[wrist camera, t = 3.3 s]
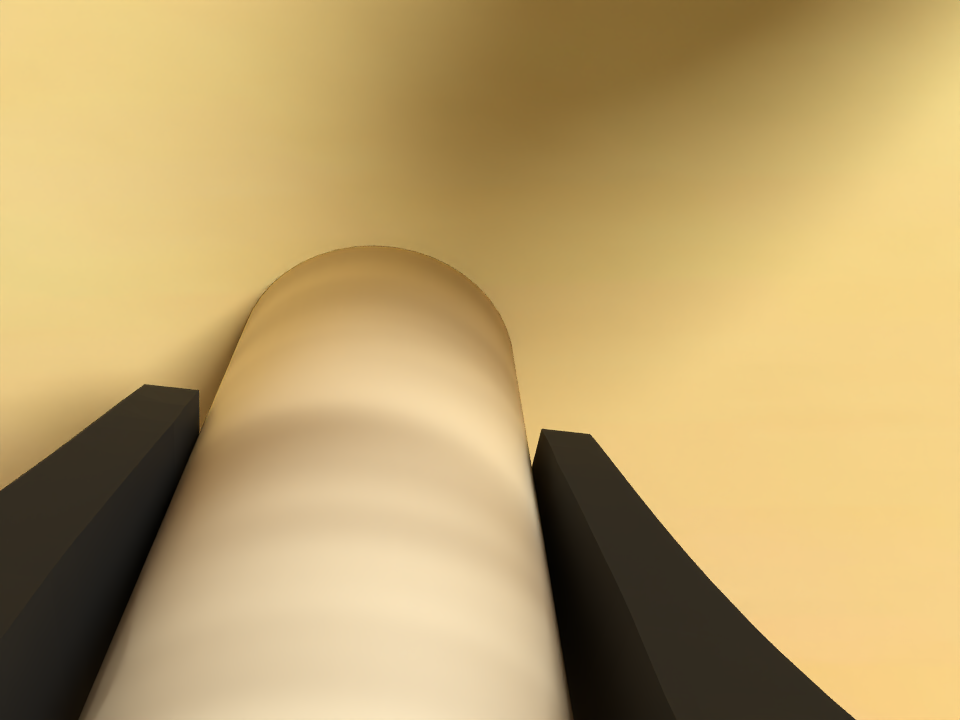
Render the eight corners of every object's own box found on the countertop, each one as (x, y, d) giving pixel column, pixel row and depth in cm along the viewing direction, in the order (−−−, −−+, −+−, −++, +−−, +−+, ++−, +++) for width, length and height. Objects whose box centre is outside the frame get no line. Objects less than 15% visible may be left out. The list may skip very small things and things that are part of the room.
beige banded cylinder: (487, 490, 13) (548, 1159, 6) (237, 464, 13) (1, 1162, 6) (538, 267, 11) (706, 889, 4) (243, 226, 11) (-107, 858, 4)
